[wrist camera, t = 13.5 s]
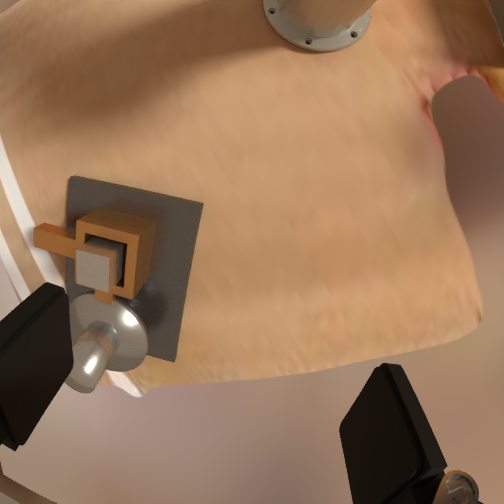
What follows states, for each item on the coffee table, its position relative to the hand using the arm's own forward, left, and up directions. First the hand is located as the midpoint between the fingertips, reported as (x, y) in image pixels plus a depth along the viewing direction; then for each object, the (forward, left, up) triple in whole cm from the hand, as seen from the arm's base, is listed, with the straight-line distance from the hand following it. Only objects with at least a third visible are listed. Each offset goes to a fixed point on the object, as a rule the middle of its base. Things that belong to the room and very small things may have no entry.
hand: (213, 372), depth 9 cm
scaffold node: (+15, -15, -30) cm, 37 cm away
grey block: (+10, -14, -29) cm, 34 cm away
